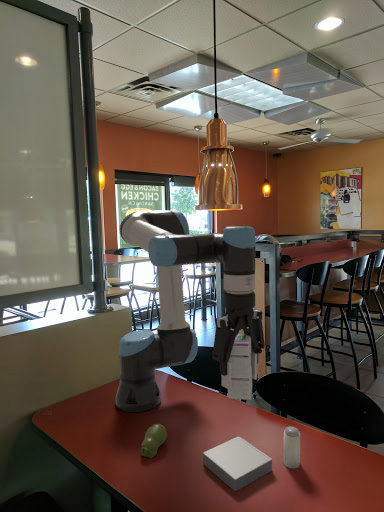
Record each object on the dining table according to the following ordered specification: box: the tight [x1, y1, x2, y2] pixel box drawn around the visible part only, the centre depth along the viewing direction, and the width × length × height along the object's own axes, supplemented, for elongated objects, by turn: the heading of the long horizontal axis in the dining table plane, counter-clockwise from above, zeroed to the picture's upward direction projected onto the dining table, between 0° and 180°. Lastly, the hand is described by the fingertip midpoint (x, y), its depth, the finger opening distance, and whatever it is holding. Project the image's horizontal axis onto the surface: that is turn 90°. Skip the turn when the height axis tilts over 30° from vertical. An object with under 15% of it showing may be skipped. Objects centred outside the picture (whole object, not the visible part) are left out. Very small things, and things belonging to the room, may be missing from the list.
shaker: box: [282, 426, 301, 469], centre depth 95 cm, size 4×4×9 cm
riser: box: [202, 435, 273, 492], centre depth 94 cm, size 12×12×3 cm
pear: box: [140, 423, 168, 459], centre depth 102 cm, size 6×5×10 cm
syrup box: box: [227, 333, 253, 401], centre depth 92 cm, size 6×6×14 cm
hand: (239, 382), depth 93 cm, fingers closed on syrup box, 8 cm apart
